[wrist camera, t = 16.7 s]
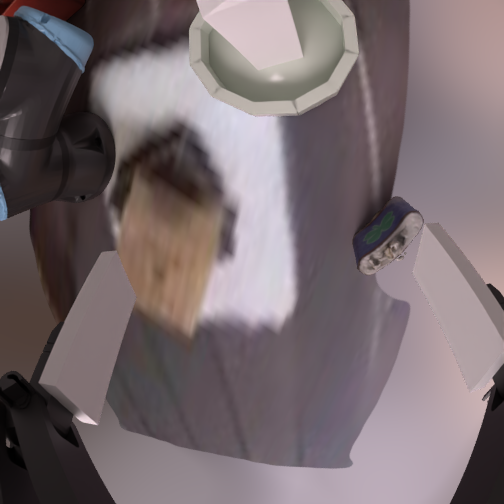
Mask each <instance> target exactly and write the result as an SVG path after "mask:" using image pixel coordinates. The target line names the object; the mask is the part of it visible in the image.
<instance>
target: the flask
mask: <svg viewBox="0 0 504 504" xmlns="http://www.w3.org/2000/svg"><path fill="white" fill-rule="evenodd" d="M423 222H424V220H423V217H422V216H421V214H420V213H419V211H417V210H415V209H414V208H413V207H411V206H410V205H409V204H408V203H407V202H406V201H405V200H403V199H402V198H401V197H393V198H392V199H390V200H389V201H388V202H387V203H386V206H385V207H384V208H383V209H382V210H380V211H378V213H377V214H375V216H373V218H372V221H371V222H370V223H369V224H367V225H366V227H365V228H364V229H362V230H360V231H359V232H358V233H357V234H356V235H354V237H353V243H352V244H353V247H354V252H355V257H356V263H357V269H358V270H359V271H360V272H361V273H363V274H365V275H372V274H374V273H376V272H377V271H379V270H380V269H382V268H384V267H385V266H386V265H388V264H389V263H391V262H392V261H393V260H395V259H396V260H397V261H401V260H403V258H404V256H400V257H399V258H397V257H398V256H399V255H401V253H402V252H403V251H404V250H405V249H406V248H407V247H408V245H409V244H410V243H411V242H412V241H413V239H414V238H415V237H416V235H417V234H418V233H419V231H420V230H421V228H422V225H423ZM404 255H406V252H405V253H404Z"/></svg>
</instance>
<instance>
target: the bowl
mask: <svg viewBox="0 0 504 504" xmlns="http://www.w3.org/2000/svg"><path fill="white" fill-rule="evenodd" d="M288 3H289V6H290V10H291V13H292V16H293V20H294V23H295V27H296V30H297V34H298V38H299V41H300V45H301V49H302V53H303V58H299V59H295V60H292V61H288V62H284V63H281V64H278V65H274V66H271V67H268V68H264V69H261V70H257V69H256V68H255V67H254V66H253V65H252V64H251V63H250V62H249V61H248V60H247V59H246V58H245V57H244V56H243V55H242V54H241V53H240V52H239V51H238V50H237V49H236V48H235V47H234V46H233V45H232V44H231V43H230V42H228V41H227V40H226V39H225V38H224V37H223V36H222V35H221V34H220V33H219V32H218V31H216V30H215V29H214V28H213V27H212V26H211V25H210V24H209V23H207V22H206V21H205V20H204V19H203V18H202V16H201V13H200V11H199V12H198V14H197V16H196V17H195V19H194V21H193V23H192V24H191V26H190V28H191V29H189V53H190V66H191V67H192V69H193V70H194V72H195V73H196V75H197V76H198V78H199V79H200V80H201V82H202V83H203V85H204V86H205V88H206V89H207V91H208V92H209V94H210V95H211V96H212V97H213V98H216V99H218V100H220V101H222V102H224V103H227V104H229V105H231V106H233V107H235V108H237V109H239V110H242V111H244V112H246V113H248V114H250V115H253V116H256V117H262V116H278V117H279V116H296V115H299V114H300V115H301V114H303V113H305V112H307V111H308V110H311V109H313V108H315V107H317V106H319V105H321V104H322V103H324V102H325V101H327V100H328V99H330V98H332V97H334V96H336V95H337V94H338V92H339V90H340V89H341V87H342V85H343V83H344V82H345V80H346V79H347V77H348V75H349V73H350V71H351V69H352V68H353V66H354V64H355V62H356V60H357V58H358V55H359V50H358V40H357V31H356V23H355V16H354V14H353V13H352V12H351V11H350V9H349V8H348V7H347V6H346V5H345V3H344V2H343V1H342V0H288Z"/></svg>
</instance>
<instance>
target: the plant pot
mask: <svg viewBox="0 0 504 504" xmlns="http://www.w3.org/2000/svg"><path fill="white" fill-rule="evenodd" d="M84 3H85V0H0V16H1V15H4V16H10V17H14V16H13V15H14V13H15V12H16V11H17V10H18V9H19V8H20V7H21V6H28V7H31V8H34V9H37V10H39V11H42V12H44V13H46V14H49V15H50V16H54V17H56V18H59V19H61V20H63V21H66V20H68V19H69V18H70V17H71V16H72V15H73V14H74V13H76V12H77V11H78V10H79V9H80V8H81V7H82V6H83V5H84Z"/></svg>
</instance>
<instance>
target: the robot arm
mask: <svg viewBox="0 0 504 504" xmlns="http://www.w3.org/2000/svg"><path fill="white" fill-rule="evenodd" d="M13 16H14V17H10V16H4V15H1V16H0V220H5V219H7V218H9V217H12V216H14V215H17V214H19V213H22V212H24V211H27V210H29V209H32V208H34V207H37V206H39V205H42V204H45V203H47V202H50V201H53V200H56V201H64V202H73V203H80V202H84V201H87V200H90V199H93V198H95V197H97V196H98V195H100V194H101V193H102V192H103V191H104V189H105V188H106V187H107V185H108V183H109V181H110V179H111V176H112V173H113V169H114V164H115V147H114V141H113V138H112V135H111V132H110V130H109V128H108V126H107V125H106V123H105V122H104V121H103V120H102V119H101V118H100V117H99V116H97V115H95V114H93V113H89V112H75V113H71V114H68V115H66V116H64V117H63V115H64V113H65V110H66V108H67V105H68V103H69V100H70V98H71V95H72V93H73V91H74V89H75V86H76V84H77V82H78V80H79V78H80V75H81V73H84V71H85V65H86V62H87V60H88V58H89V56H90V54H91V52H92V49H93V46H94V43H93V38H92V37H91V35H90V34H88V33H87V32H85V31H84V30H82V29H80V28H78V27H76V26H74V25H72V24H70V23H68V22H65V21H63V20H61V19H59V18H56V17H54V16H50V15H49V14H46V13H44V12H42V11H39V10H37V9H34V8H31V7H28V6H21V7H20V8H19V9H18V10H17V11H16V12H15V13H14V15H13ZM412 274H413V275H414V277H415V279H416V281H417V283H418V284H419V286H420V288H421V290H422V292H423V293H424V295H425V297H426V299H427V301H428V303H429V304H430V307H431V309H432V311H433V313H434V314H435V317H436V319H437V321H438V322H439V325H440V326H441V329H442V330H443V333H444V335H445V337H446V339H447V341H448V343H449V345H450V348H451V350H452V352H453V354H454V356H455V359H456V361H457V363H458V366H459V368H460V370H461V372H462V375H463V377H464V380H465V382H466V385H467V387H468V389H469V392H473V391H476V390H478V389H481V388H483V387H485V386H486V385H487V384H488V383H489V381H490V380H491V379H492V378H493V380H494V383H495V384H494V385H493V387H492V388H491V389H490V390H489V391H488V392H487V393H486V394H485V395H484V397H483V399H482V400H483V401H485V399H487V398H488V396H489V395H490V397H489V400H488V405H487V409H486V412H485V415H484V419H483V423H482V425H481V429H480V432H479V435H478V438H477V441H476V444H475V446H474V449H473V452H472V454H471V457H470V460H469V463H468V465H467V467H466V470H465V472H464V474H463V477H462V479H461V481H460V484H459V486H458V488H457V490H456V492H455V494H454V496H453V499H452V500H451V503H450V504H504V297H503V296H502V294H501V293H500V292H499V291H498V290H497V289H496V288H495V287H494V286H493V285H491V284H485V282H484V281H483V279H482V278H481V276H480V275H479V274H478V273H477V271H476V270H475V268H474V267H473V266H472V264H471V263H470V261H469V260H468V259H467V257H466V256H465V255H464V254H463V252H462V251H461V250H460V248H459V247H458V246H457V245H456V243H455V242H454V241H453V240H452V238H451V237H450V236H449V235H448V233H447V232H446V231H445V230H444V229H443V228H442V226H441V225H440V224H439V223H428V224H424V229H423V233H422V237H421V242H420V245H419V250H418V253H417V258H416V261H415V265H414V269H413V272H412ZM135 300H136V295H135V293H134V291H133V288H132V286H131V284H130V282H129V279H128V277H127V275H126V273H125V270H124V268H123V266H122V263H121V261H120V258H119V256H118V253H117V251H108V252H102V253H101V254H100V256H99V258H98V259H97V261H96V263H95V265H94V267H93V268H92V270H91V272H90V274H89V276H88V277H87V279H86V281H85V283H84V285H83V287H82V289H81V291H80V292H79V294H78V296H77V298H76V300H75V302H74V304H73V306H72V308H71V310H70V312H69V314H68V316H67V318H66V320H65V322H60V323H59V324H58V325H57V326H56V327H55V328H54V330H53V331H52V332H51V334H50V337H49V339H48V341H47V345H45V347H44V350H43V353H42V354H41V356H40V359H39V361H38V363H37V366H36V368H35V370H34V373H33V375H32V378H31V380H30V383H28V382H27V381H26V380H25V379H24V378H23V377H22V376H21V375H20V374H19V373H18V372H16V371H10V372H8V373H6V374H5V375H4V376H2V377H1V379H0V504H116V503H115V502H114V500H113V498H112V497H111V495H110V493H109V492H108V490H107V488H106V486H105V485H104V483H103V481H102V479H101V478H100V476H99V474H98V472H97V470H96V468H95V466H94V464H93V463H92V460H91V458H90V456H89V454H88V452H87V451H86V448H85V446H84V444H83V442H82V440H81V437H80V435H79V433H78V431H77V428H76V426H75V425H74V423H73V422H72V418H73V415H74V416H75V417H76V418H78V419H79V420H80V421H81V422H85V423H90V424H95V425H98V424H99V420H100V416H101V412H102V408H103V404H104V400H105V397H106V393H107V389H108V386H109V382H110V378H111V375H112V371H113V368H114V365H115V361H116V358H117V355H118V351H119V348H120V345H121V342H122V339H123V336H124V333H125V330H126V326H127V323H128V320H129V318H130V315H131V312H132V309H133V306H134V303H135ZM6 439H7V440H8V441H10V448H9V447H7V446H6Z"/></svg>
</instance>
